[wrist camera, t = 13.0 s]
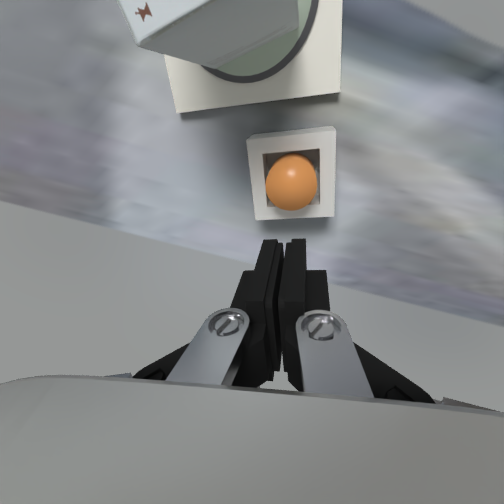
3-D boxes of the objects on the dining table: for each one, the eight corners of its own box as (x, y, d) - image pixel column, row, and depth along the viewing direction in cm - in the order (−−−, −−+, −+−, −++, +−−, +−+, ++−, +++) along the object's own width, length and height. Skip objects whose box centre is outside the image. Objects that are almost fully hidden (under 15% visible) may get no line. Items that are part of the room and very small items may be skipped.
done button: (271, 200, 26) (267, 211, 24) (267, 155, 24) (263, 162, 22) (316, 197, 25) (317, 209, 23) (315, 150, 23) (316, 157, 21)
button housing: (260, 207, 29) (255, 220, 26) (252, 134, 26) (246, 139, 23) (330, 203, 28) (334, 216, 25) (332, 125, 25) (335, 130, 22)
